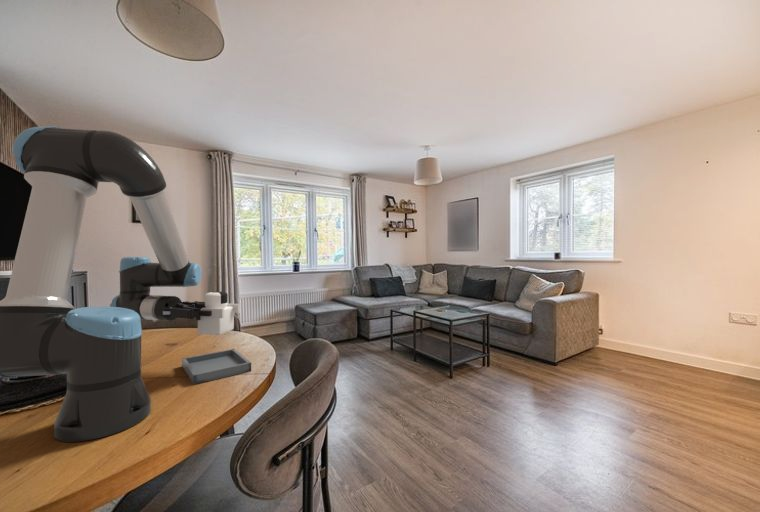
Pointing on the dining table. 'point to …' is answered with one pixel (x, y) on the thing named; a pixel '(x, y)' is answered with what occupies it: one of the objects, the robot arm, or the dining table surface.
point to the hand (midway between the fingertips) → (231, 310)
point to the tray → (215, 365)
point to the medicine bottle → (217, 324)
